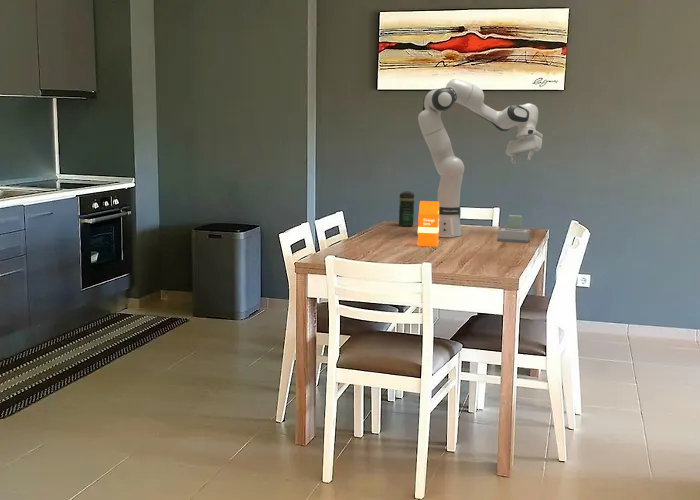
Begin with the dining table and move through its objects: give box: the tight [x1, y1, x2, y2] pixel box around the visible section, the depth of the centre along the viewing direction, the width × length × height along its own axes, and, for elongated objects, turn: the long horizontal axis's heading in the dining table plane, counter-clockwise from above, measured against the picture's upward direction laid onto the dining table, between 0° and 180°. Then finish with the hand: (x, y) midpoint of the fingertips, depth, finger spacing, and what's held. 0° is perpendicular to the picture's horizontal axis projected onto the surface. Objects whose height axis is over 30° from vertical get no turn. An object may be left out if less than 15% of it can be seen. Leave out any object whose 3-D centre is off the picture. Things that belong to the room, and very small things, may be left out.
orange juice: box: [417, 200, 440, 247], centre depth 351 cm, size 8×9×20 cm
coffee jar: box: [398, 190, 415, 228], centre depth 413 cm, size 10×8×19 cm
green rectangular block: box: [507, 214, 523, 229], centre depth 375 cm, size 4×6×11 cm, turn 69°
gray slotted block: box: [496, 227, 531, 244], centre depth 368 cm, size 14×10×5 cm
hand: (520, 161), depth 379 cm, fingers open, 8 cm apart
